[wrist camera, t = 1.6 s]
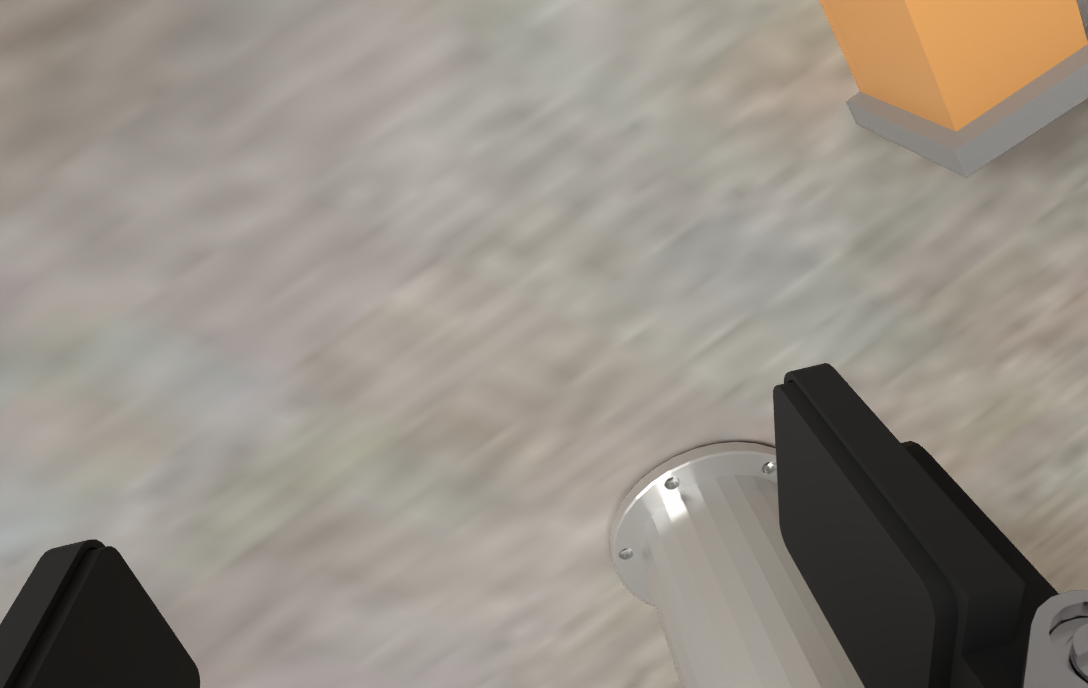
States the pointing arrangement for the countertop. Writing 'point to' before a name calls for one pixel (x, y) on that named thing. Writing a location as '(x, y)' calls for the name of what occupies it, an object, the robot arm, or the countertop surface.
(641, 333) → the countertop surface
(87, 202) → the countertop surface
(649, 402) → the countertop surface
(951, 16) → the orange pillar on base
